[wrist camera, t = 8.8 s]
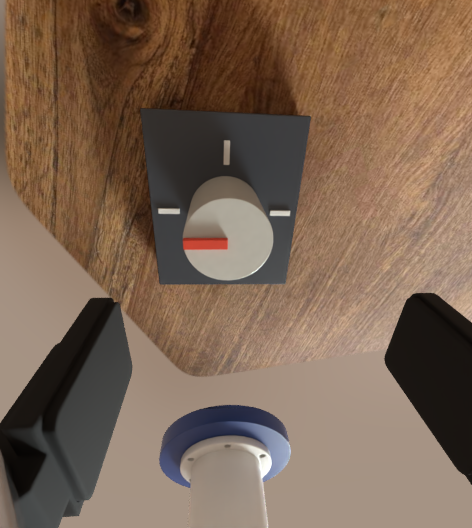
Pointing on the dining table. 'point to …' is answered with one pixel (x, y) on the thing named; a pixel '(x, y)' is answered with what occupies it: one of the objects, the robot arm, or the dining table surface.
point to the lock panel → (222, 164)
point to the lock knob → (227, 230)
